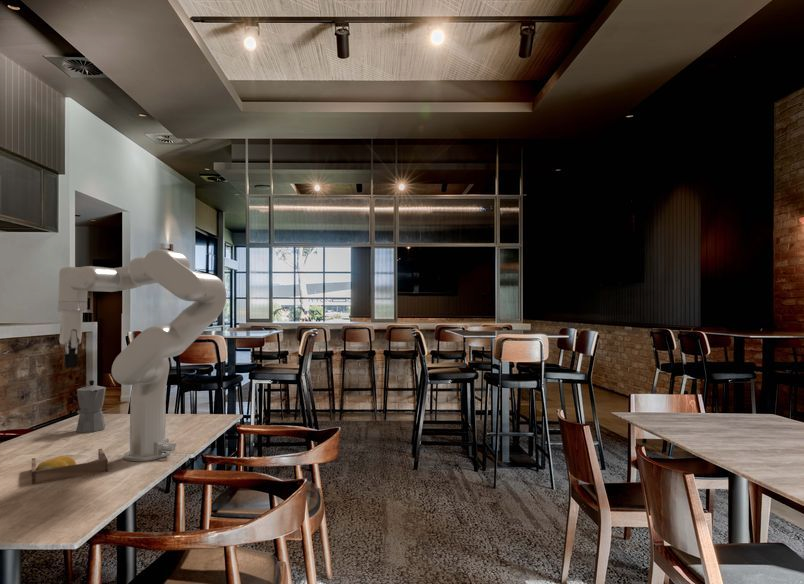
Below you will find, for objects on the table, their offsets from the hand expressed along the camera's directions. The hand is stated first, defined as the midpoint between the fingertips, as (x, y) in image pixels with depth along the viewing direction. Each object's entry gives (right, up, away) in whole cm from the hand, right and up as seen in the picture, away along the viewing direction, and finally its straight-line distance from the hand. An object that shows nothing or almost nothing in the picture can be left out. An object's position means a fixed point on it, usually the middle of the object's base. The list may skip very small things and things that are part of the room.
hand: (70, 366), depth 158 cm
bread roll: (+8, -26, -19) cm, 33 cm away
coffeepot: (-12, -28, +30) cm, 43 cm away
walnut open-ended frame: (+11, -26, -18) cm, 33 cm away
